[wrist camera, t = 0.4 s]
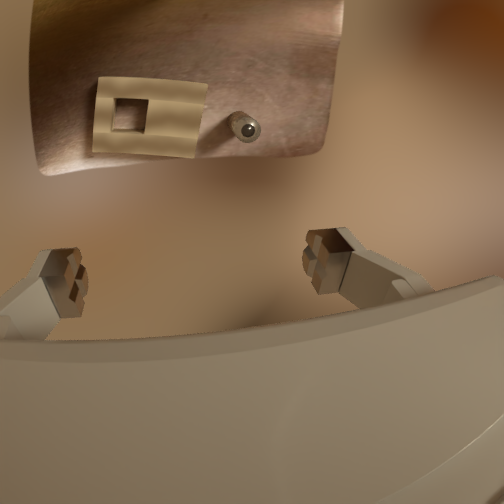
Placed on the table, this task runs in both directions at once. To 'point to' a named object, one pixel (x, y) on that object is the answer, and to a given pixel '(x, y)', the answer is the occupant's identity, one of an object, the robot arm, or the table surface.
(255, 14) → the table surface
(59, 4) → the table surface
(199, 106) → the frame
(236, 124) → the bushing
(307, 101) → the table surface
